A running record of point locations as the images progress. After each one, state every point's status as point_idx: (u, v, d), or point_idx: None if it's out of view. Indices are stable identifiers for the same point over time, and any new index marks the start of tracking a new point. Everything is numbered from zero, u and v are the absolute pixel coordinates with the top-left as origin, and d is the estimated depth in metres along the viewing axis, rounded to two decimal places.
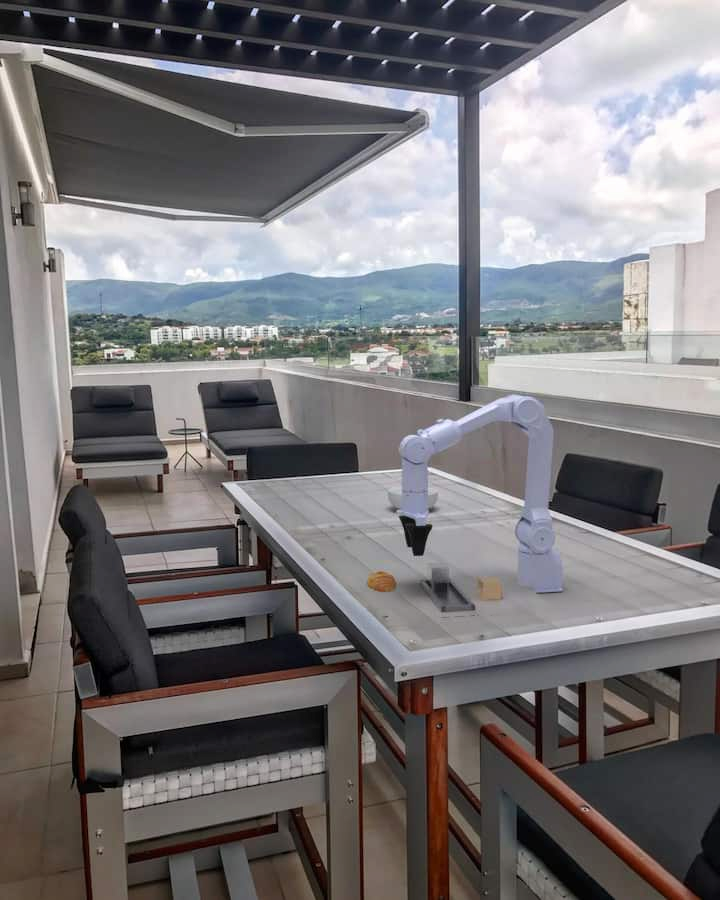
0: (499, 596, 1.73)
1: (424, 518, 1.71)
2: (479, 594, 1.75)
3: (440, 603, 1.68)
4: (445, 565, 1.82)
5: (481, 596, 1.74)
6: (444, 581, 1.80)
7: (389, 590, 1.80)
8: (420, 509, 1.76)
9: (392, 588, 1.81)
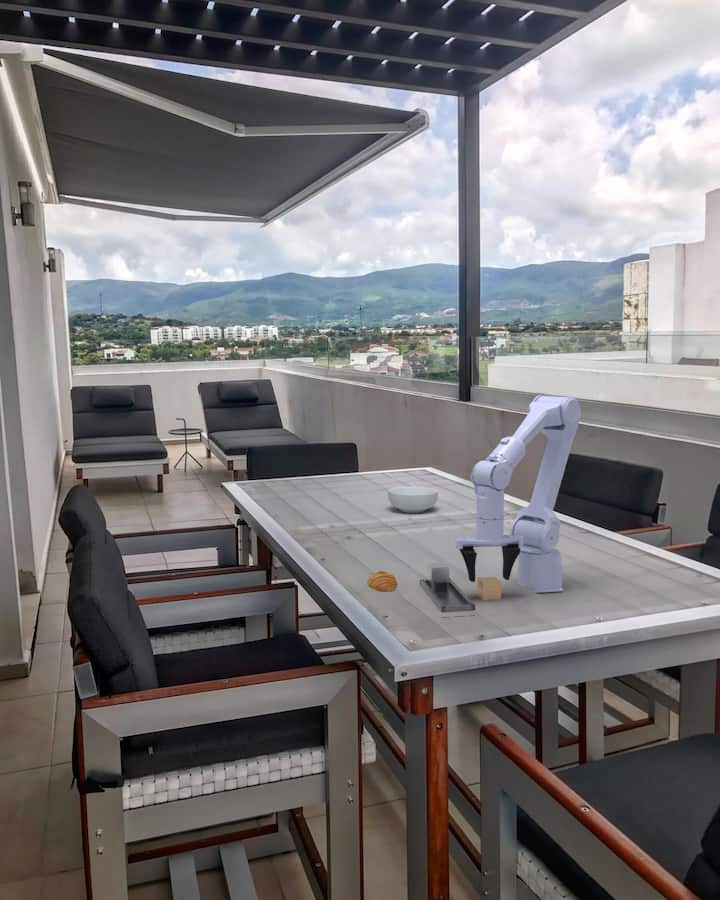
0: (499, 596, 1.73)
1: (457, 541, 1.72)
2: (479, 594, 1.75)
3: (440, 603, 1.68)
4: (445, 565, 1.82)
5: (481, 596, 1.74)
6: (444, 581, 1.80)
7: (390, 590, 1.80)
8: (478, 536, 1.72)
9: (393, 588, 1.81)
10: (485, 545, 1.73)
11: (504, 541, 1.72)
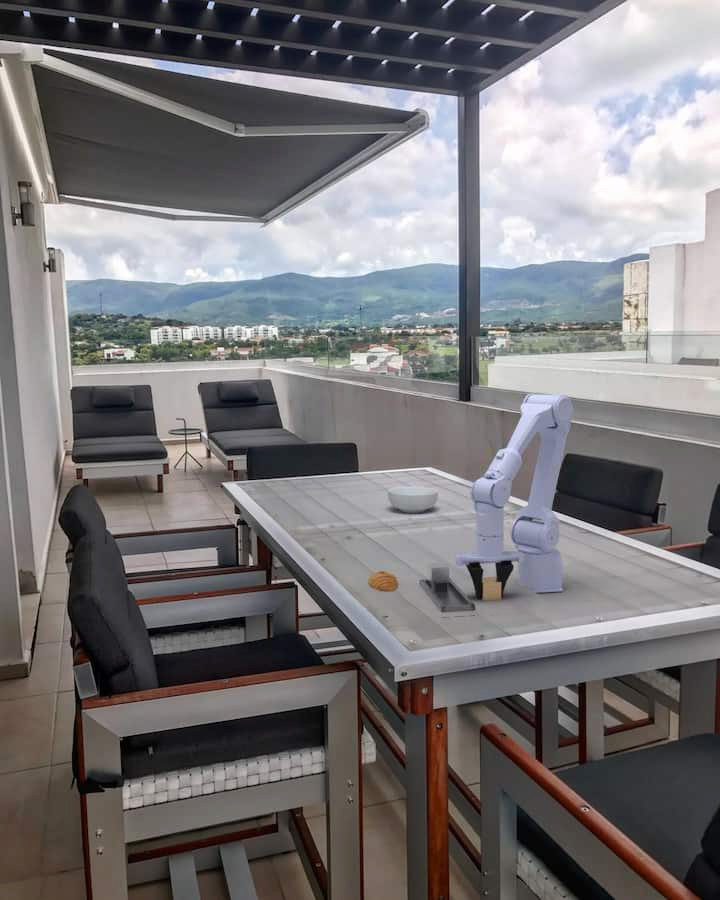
0: (499, 596, 1.73)
1: (457, 558, 1.72)
2: None
3: (440, 603, 1.68)
4: (445, 565, 1.82)
5: None
6: (444, 581, 1.80)
7: (392, 590, 1.80)
8: (478, 552, 1.73)
9: (394, 588, 1.81)
10: (485, 562, 1.74)
11: (504, 558, 1.72)
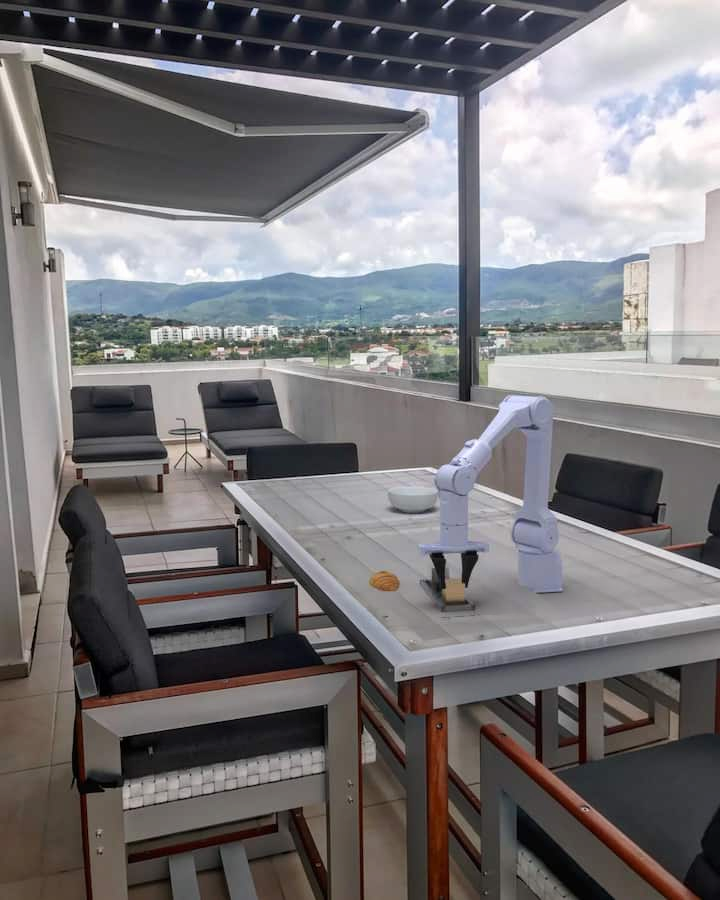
0: (463, 598, 1.68)
1: (420, 548, 1.67)
2: (443, 596, 1.70)
3: (440, 603, 1.68)
4: None
5: (444, 598, 1.69)
6: None
7: (394, 589, 1.80)
8: (441, 542, 1.67)
9: (396, 587, 1.81)
10: (449, 552, 1.68)
11: (468, 548, 1.66)
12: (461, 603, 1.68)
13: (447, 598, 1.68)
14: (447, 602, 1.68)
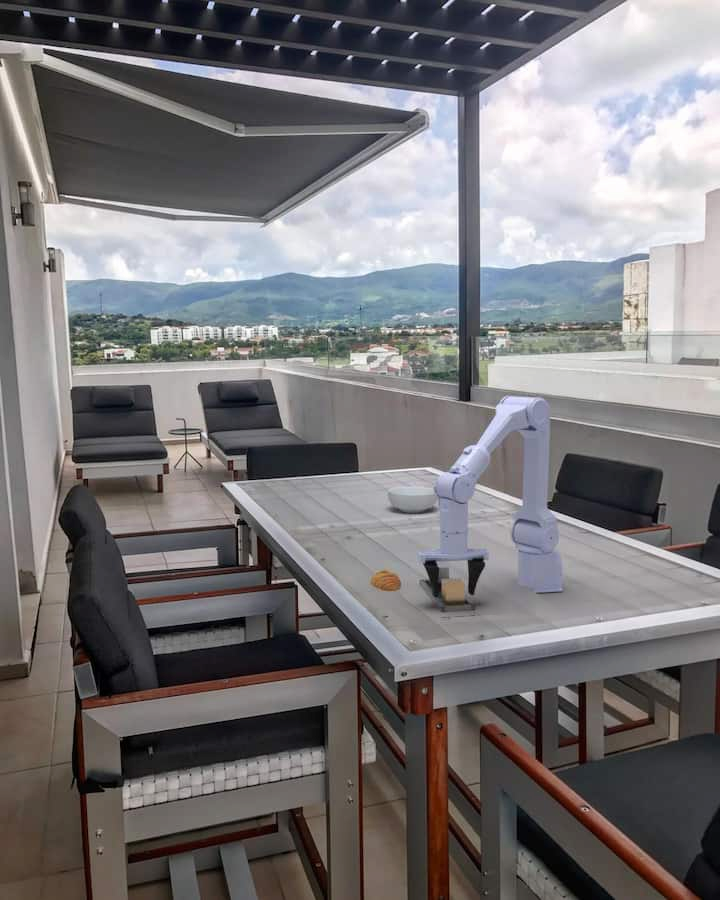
0: (463, 598, 1.68)
1: (420, 555, 1.67)
2: (443, 596, 1.70)
3: (440, 603, 1.68)
4: (445, 565, 1.82)
5: (444, 598, 1.69)
6: None
7: (396, 589, 1.81)
8: (441, 550, 1.67)
9: (398, 587, 1.82)
10: (449, 559, 1.68)
11: (468, 555, 1.67)
12: (461, 603, 1.68)
13: (447, 598, 1.68)
14: (447, 602, 1.68)
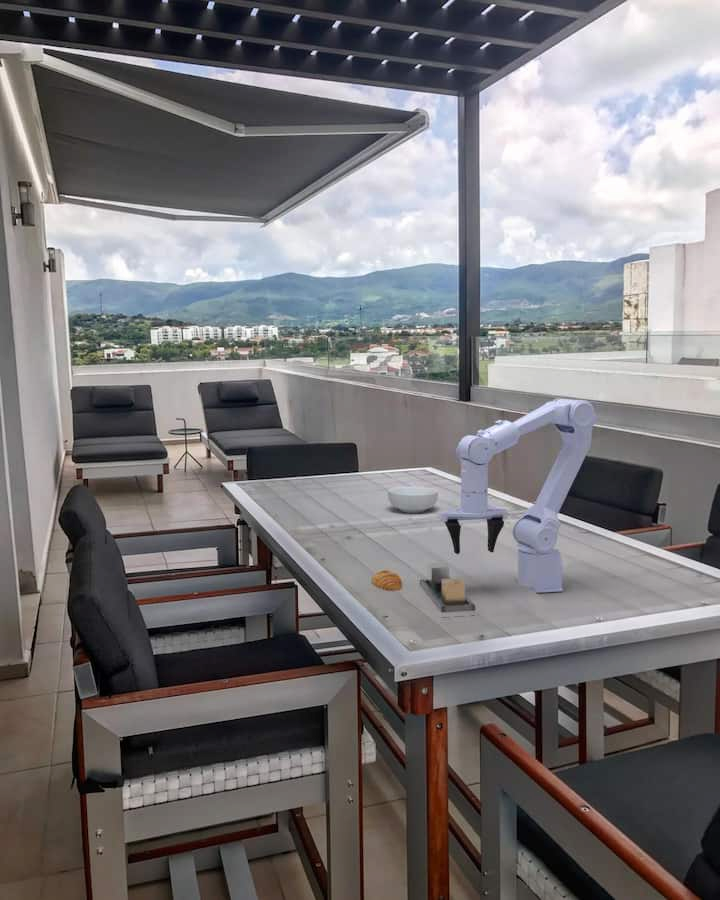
0: (463, 598, 1.68)
1: (442, 514, 1.76)
2: (443, 596, 1.70)
3: (440, 603, 1.68)
4: (445, 565, 1.82)
5: (444, 598, 1.69)
6: None
7: (397, 588, 1.81)
8: (462, 509, 1.76)
9: (400, 586, 1.82)
10: (469, 518, 1.77)
11: (488, 514, 1.76)
12: (461, 603, 1.68)
13: (447, 598, 1.68)
14: (447, 602, 1.68)
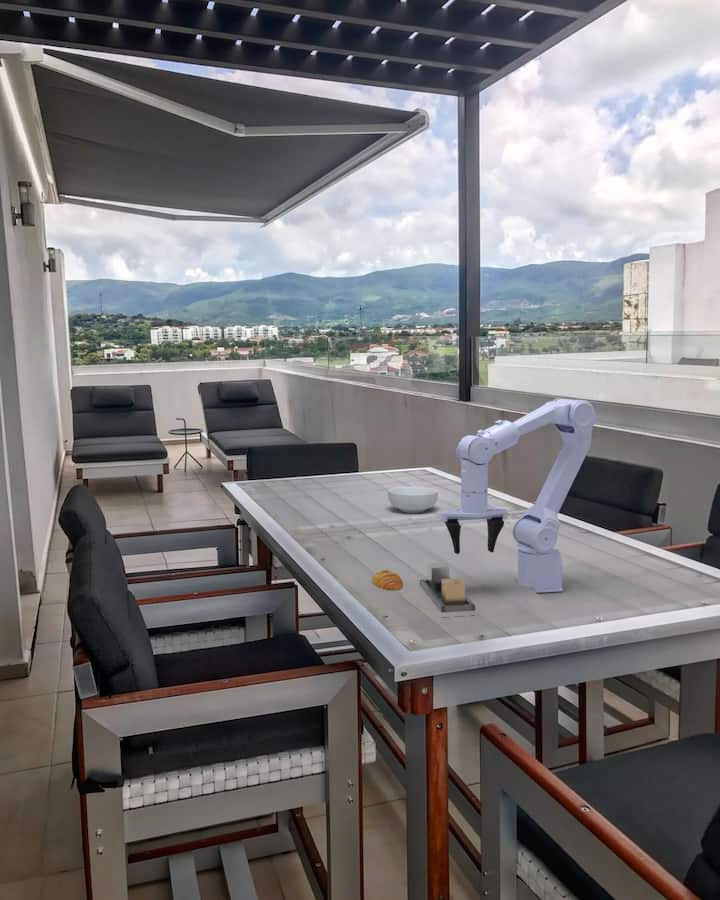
0: (463, 598, 1.68)
1: (442, 514, 1.76)
2: (443, 596, 1.70)
3: (440, 603, 1.68)
4: (445, 565, 1.82)
5: (444, 598, 1.69)
6: None
7: (398, 588, 1.81)
8: (462, 509, 1.76)
9: (401, 586, 1.82)
10: (469, 518, 1.77)
11: (488, 514, 1.76)
12: (461, 603, 1.68)
13: (447, 598, 1.68)
14: (447, 602, 1.68)
